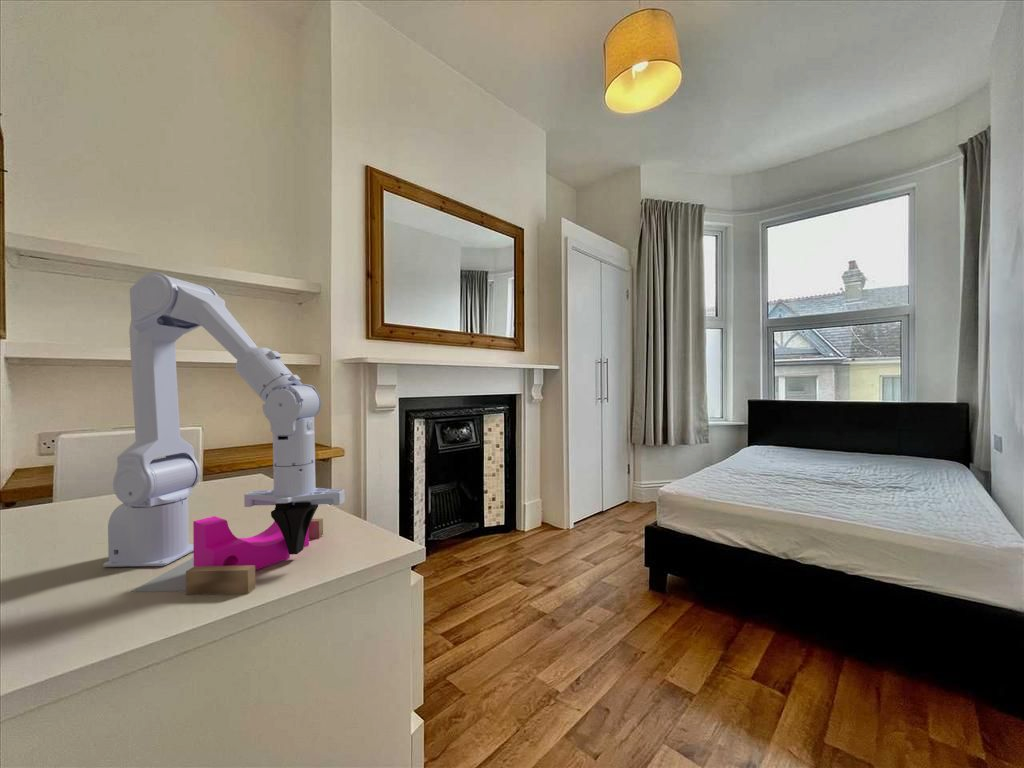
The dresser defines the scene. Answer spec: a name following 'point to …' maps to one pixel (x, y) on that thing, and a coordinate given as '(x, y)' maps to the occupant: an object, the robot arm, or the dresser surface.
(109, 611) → the dresser surface
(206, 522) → the toy block
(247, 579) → the pair of brown pieces
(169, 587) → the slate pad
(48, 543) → the dresser surface
